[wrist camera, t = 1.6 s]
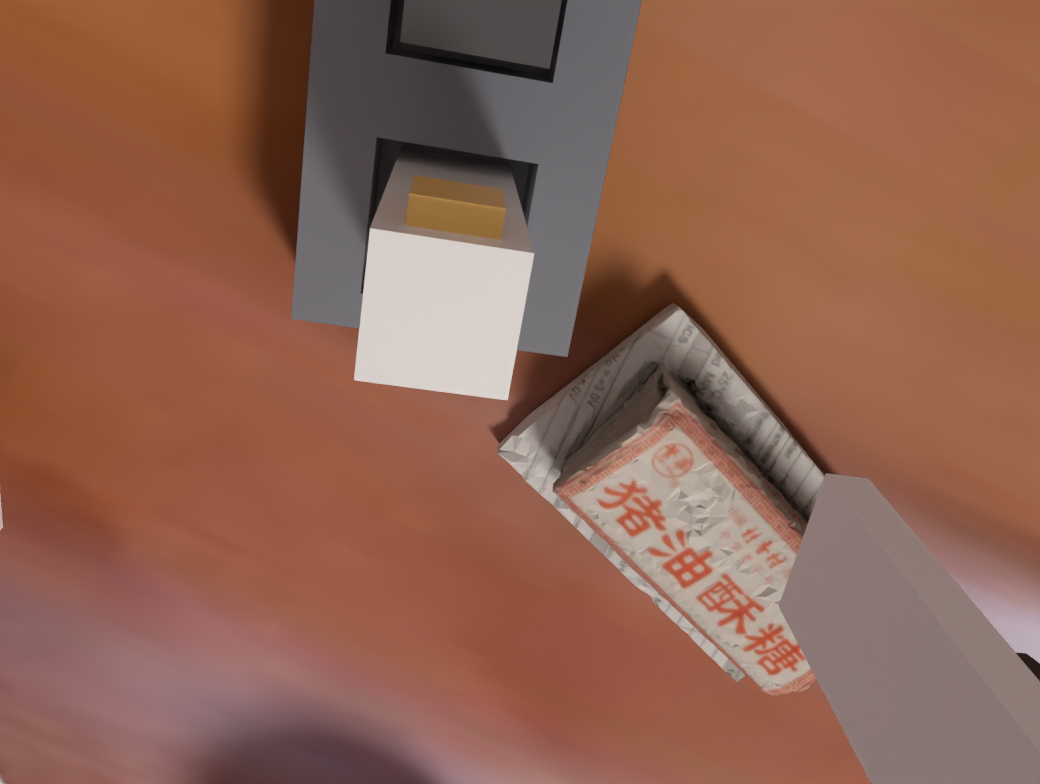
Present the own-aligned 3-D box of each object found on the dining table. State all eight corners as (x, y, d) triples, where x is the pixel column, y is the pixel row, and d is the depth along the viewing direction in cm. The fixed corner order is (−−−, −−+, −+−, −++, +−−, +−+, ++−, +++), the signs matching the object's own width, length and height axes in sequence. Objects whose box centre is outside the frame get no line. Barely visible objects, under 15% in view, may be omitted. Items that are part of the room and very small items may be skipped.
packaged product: (945, 618, 38) (759, 740, 41) (896, 553, 43) (730, 666, 45) (700, 332, 32) (496, 495, 34) (671, 290, 36) (492, 437, 39)
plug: (513, 143, 32) (540, 221, 21) (492, 269, 34) (507, 400, 23) (403, 125, 32) (373, 194, 21) (388, 254, 34) (353, 379, 23)
